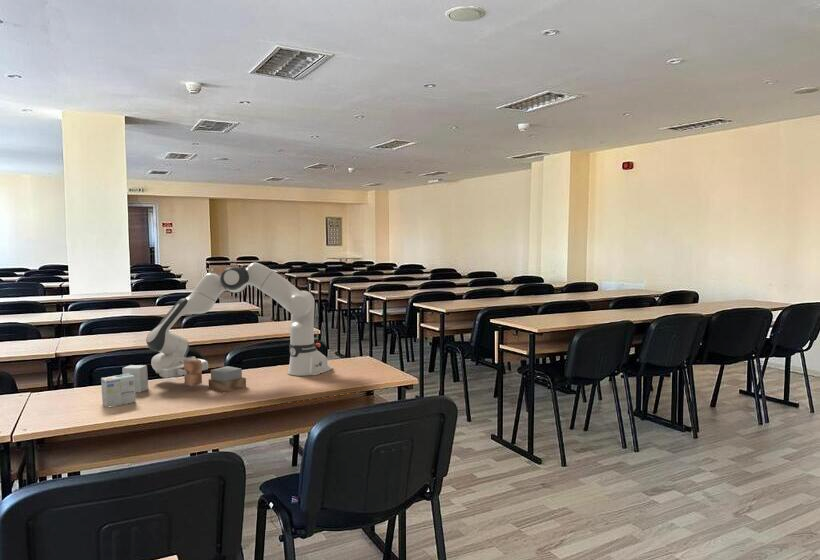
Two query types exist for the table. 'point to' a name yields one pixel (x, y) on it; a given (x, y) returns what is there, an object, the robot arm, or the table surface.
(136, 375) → the small box
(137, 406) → the table surface
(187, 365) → the terracotta block
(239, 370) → the grey top block
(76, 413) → the table surface
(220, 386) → the walnut base block
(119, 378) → the light bulb box
